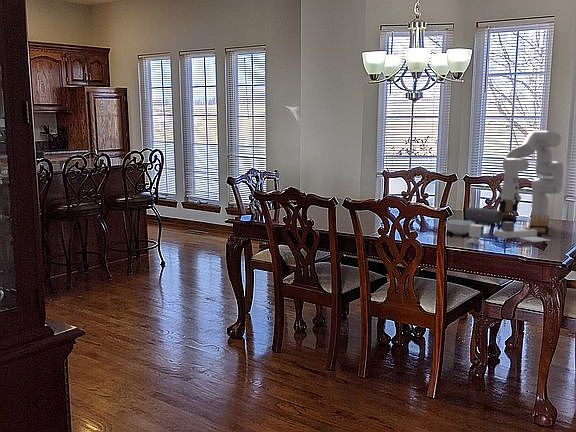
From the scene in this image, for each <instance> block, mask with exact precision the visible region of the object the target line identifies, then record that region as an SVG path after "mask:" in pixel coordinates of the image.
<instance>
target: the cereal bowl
mask: <svg viewBox="0 0 576 432" xmlns="http://www.w3.org/2000/svg"><path fill="white" fill-rule="evenodd" d="M446 221H447V226H446V225H445V227H446V229H447V231H449V232H451V233H452V234H454V235H462V236H463V235H467V234H469V227H470V225H472V224H476V222H475V221H472V220H464V219H448V220H446Z"/></svg>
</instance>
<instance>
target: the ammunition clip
mask: <svg viewBox="0 0 576 432" xmlns="http://www.w3.org/2000/svg"><path fill="white" fill-rule="evenodd" d="M530 214H531V213H530ZM549 221H550V216H549V214H548V215H547V219H546V216H545V215H544V218H543V221H542V214H541V217H540V223H539V214H538V216H537V221H536V214H535V215H534V220H533V215H532V214H531V215H530V219H529V225H530V228H531V229H534V230H537V235H542V234H546V235H545V236H549V229H550V224H549ZM542 223H543V225H542ZM545 225H546V226H545ZM548 228H549V229H548Z"/></svg>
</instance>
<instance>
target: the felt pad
mask: <svg viewBox="0 0 576 432" xmlns="http://www.w3.org/2000/svg"><path fill="white" fill-rule="evenodd" d="M518 239H519V240H522V241H526V242H531V243H544V242H543V241H547V242H551V241H552V240H551V239H547V238H543V237H539V236H530V237H518Z"/></svg>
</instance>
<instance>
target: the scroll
mask: <svg viewBox="0 0 576 432" xmlns="http://www.w3.org/2000/svg"><path fill="white" fill-rule="evenodd" d="M500 193H502V190H501V191H500V192H499V194H500ZM505 202H506V208H505V209H501V202H500V200H499V201H498V203H499V206H498V211H501V212H502V215H503V219H502V220H503V222H506V220H514V221H517V219H518V217H517V215H515V214H513V211H512V206H513V201H512V200H506V201H505Z"/></svg>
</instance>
